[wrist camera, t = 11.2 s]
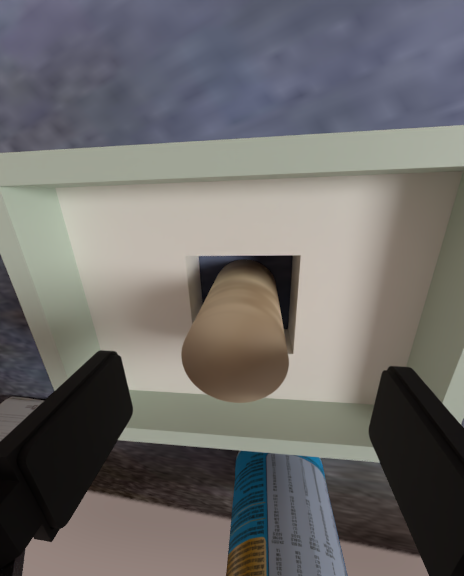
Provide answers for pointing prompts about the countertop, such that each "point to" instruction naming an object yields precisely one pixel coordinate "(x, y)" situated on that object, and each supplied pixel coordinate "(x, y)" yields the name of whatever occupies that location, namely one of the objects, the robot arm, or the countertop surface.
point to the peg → (238, 336)
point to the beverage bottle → (282, 518)
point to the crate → (247, 242)
